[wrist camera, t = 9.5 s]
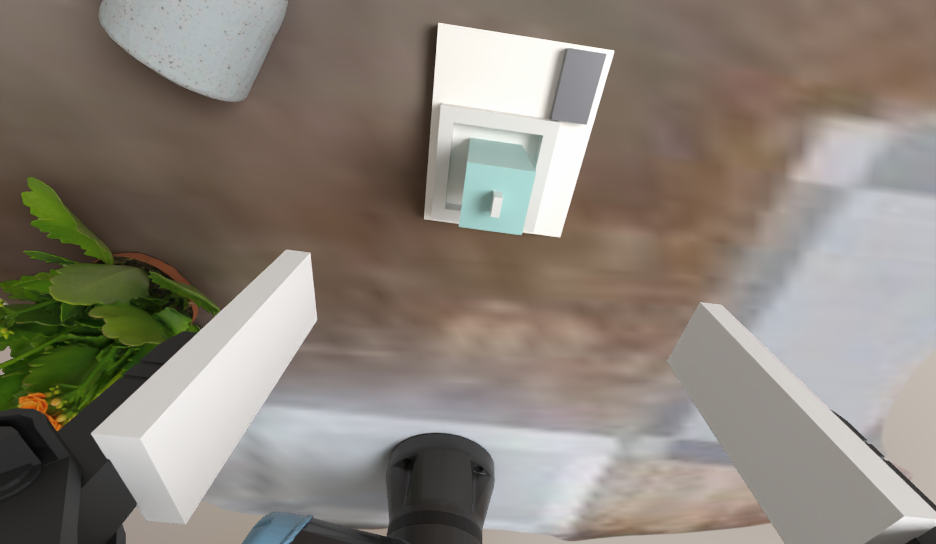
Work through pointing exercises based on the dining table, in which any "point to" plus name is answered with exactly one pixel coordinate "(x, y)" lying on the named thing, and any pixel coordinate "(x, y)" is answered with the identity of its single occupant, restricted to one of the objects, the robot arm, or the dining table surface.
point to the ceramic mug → (197, 40)
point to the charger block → (496, 187)
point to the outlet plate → (512, 115)
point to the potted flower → (85, 316)
